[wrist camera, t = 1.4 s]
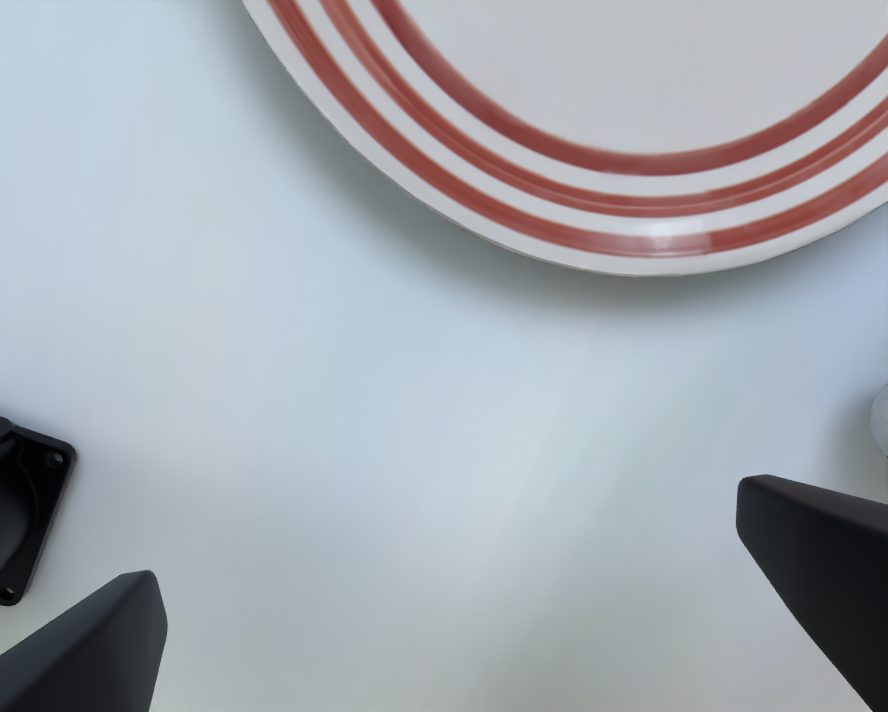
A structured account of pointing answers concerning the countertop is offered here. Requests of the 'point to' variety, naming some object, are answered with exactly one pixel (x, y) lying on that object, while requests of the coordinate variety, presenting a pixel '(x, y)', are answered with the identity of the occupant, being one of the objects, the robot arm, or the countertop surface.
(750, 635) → the countertop surface
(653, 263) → the dinner plate
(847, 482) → the countertop surface
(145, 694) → the robot arm
